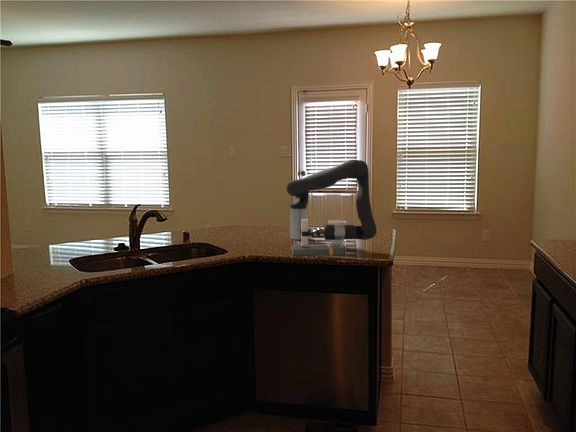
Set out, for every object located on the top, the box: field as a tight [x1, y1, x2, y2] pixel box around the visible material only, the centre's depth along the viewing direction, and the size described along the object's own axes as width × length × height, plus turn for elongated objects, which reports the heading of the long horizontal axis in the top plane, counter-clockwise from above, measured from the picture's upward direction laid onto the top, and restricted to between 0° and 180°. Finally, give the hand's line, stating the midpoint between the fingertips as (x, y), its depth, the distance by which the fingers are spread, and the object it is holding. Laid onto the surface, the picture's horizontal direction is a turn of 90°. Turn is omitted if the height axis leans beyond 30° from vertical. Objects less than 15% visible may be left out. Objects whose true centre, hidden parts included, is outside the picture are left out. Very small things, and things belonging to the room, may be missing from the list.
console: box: [291, 243, 345, 257], centre depth 229 cm, size 24×12×3 cm, turn 93°
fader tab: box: [300, 218, 310, 247], centre depth 228 cm, size 4×4×13 cm
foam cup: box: [327, 219, 348, 248], centre depth 244 cm, size 10×9×13 cm
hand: (301, 232), depth 227 cm, fingers open, 8 cm apart
